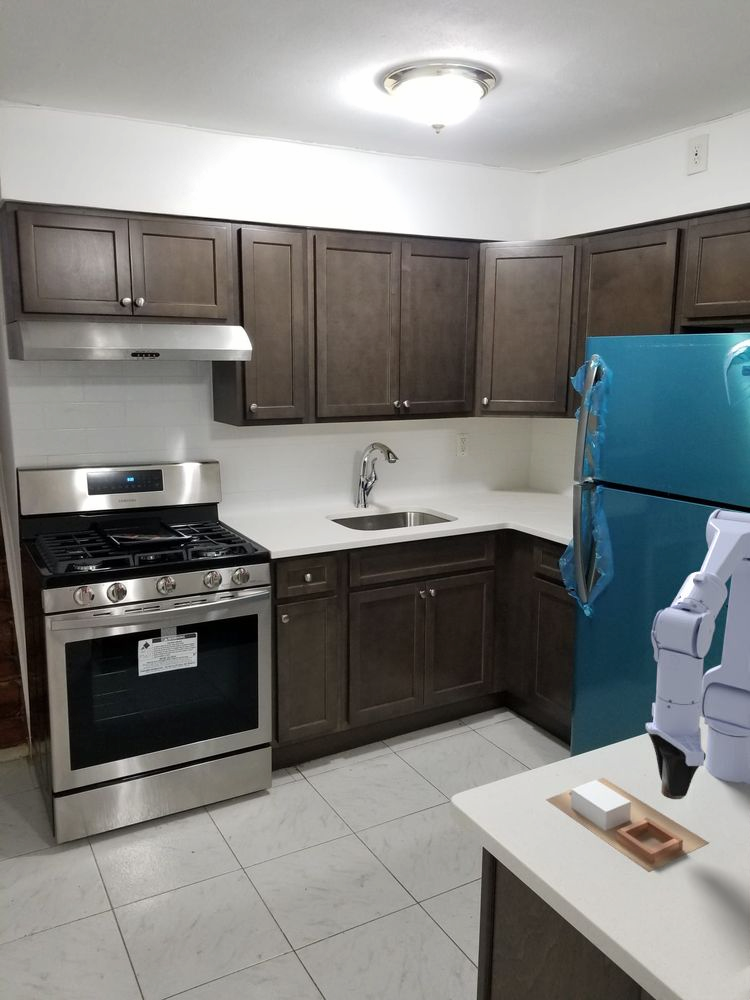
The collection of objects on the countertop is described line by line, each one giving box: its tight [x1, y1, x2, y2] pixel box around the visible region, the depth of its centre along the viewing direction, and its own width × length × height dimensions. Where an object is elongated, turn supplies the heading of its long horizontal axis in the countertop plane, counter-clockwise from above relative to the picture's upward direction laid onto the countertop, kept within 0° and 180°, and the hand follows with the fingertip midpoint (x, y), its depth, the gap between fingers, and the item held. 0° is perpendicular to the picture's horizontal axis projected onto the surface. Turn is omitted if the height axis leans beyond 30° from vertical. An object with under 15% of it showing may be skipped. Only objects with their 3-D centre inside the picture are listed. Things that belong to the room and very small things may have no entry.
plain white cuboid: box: [570, 779, 631, 831], centre depth 118 cm, size 5×7×3 cm
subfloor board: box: [546, 777, 710, 873], centre depth 117 cm, size 12×20×2 cm, turn 30°
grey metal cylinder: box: [660, 758, 685, 800], centre depth 110 cm, size 3×3×5 cm
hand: (673, 787), depth 110 cm, fingers closed on grey metal cylinder, 3 cm apart
